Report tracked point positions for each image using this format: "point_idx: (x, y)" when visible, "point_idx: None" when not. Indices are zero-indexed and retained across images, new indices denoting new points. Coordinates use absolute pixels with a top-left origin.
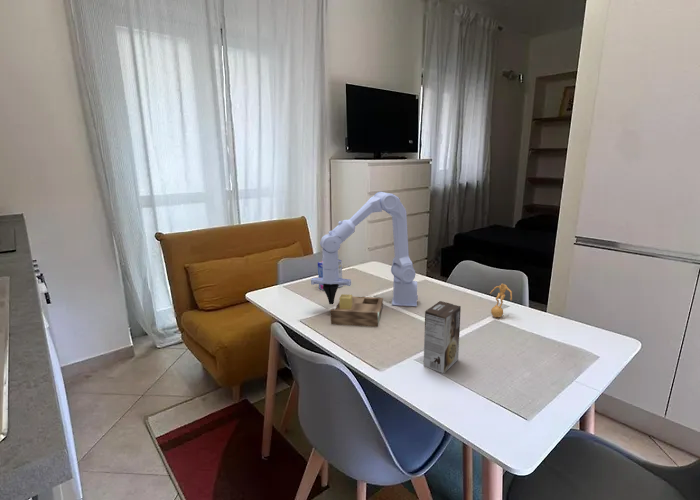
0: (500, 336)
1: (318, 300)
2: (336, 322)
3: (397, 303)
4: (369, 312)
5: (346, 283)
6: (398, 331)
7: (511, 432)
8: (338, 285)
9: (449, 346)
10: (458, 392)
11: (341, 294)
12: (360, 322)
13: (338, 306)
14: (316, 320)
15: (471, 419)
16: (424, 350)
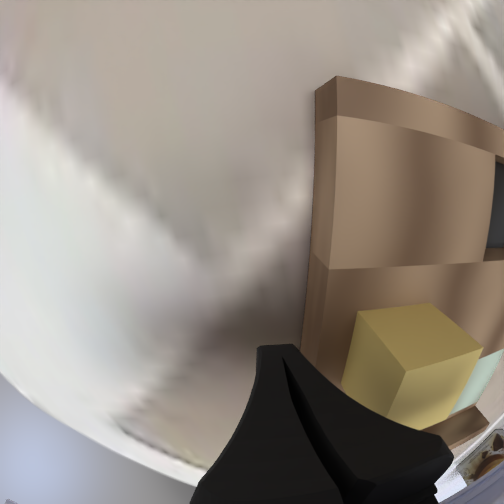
0: None
1: (87, 91)
2: None
3: None
4: (463, 442)
5: (501, 485)
6: (488, 393)
7: (459, 488)
8: (423, 494)
9: None
10: (458, 478)
11: (404, 377)
12: None
13: (331, 354)
14: (199, 426)
15: (443, 495)
16: (467, 485)
